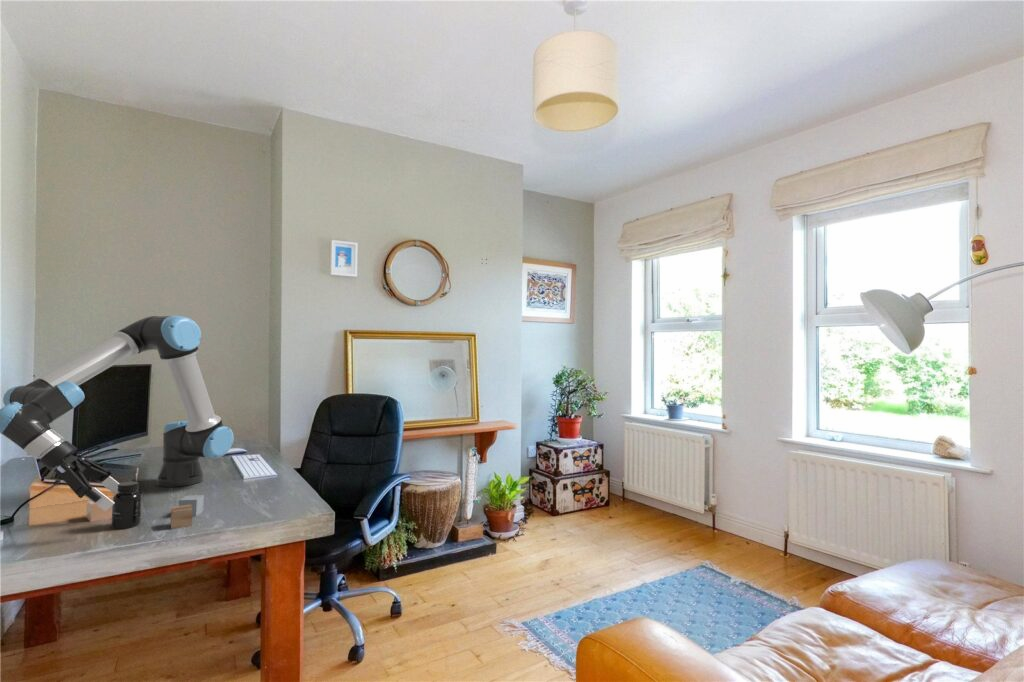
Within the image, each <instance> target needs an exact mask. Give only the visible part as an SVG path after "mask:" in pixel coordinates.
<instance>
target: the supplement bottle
mask: <svg viewBox="0 0 1024 682" xmlns="http://www.w3.org/2000/svg"><path fill="white" fill-rule="evenodd" d="M139 485H140V483H139V482H138V481H124V482H121V483H120V484H118V489H117V491H118V493H117V494H116V495H115V494H113V497H112V501H113V502H115V503H114V504H113V505H112V518H111V526H110V527H111V528H112V529H115V530H125V529H131V528H135V527H137V526H139V525H140V524H141V523H142V509H143V507H142V506H143V494H142V492H141V491H140V490H139V489H140V487H139Z"/></svg>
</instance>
